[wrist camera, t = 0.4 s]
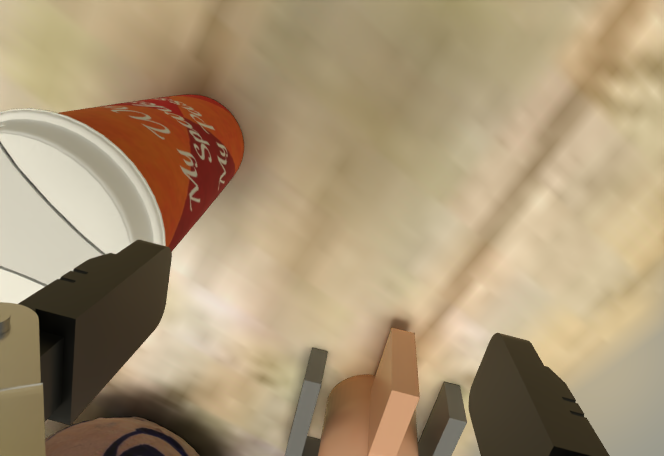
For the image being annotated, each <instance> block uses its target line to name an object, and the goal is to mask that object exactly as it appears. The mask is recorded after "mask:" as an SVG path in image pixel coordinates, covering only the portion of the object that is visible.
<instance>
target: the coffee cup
mask: <svg viewBox="0 0 664 456" xmlns="http://www.w3.org/2000/svg"><path fill="white" fill-rule="evenodd" d="M243 153H244V141H243V136H242V132H241V129H240V127H239V125H238V123H237V121H236V119H235V118H234V116H233V115H232V114H231V113H230V112H229V111H228V110H227V109H226V108H225V107H224V106H223V105H221V104H220V103H218V102H217V101H215V100H213V99H211V98H208V97H205V96H200V95H177V96H169V97H161V98H154V99H147V100H140V101H133V102H127V103H120V104H113V105H107V106H100V107H94V108H87V109H80V110H74V111H67V112H61V113H56V112H52V111H48V110H40V109H32V108H26V109H11V110H7V111H3V112H0V302H5V303H14V304H18V303H20V302H21V301H23V300H25V299H26V298H28V297H29V296H31V295H33V294H34V293H36V292H37V291H39V290H40V289H42V288H44V287H45V286H47V285H48V284H50V283H52V282H53V281H55V280H56V279H60V278H61V276H63V275H64V274H66V273H68V272H69V271H73V270H74V268H75V267H77V266H79V265H80V264H82V263H83V262H85V261H87V260H88V259H91V258H94V257H98V256H101V255H105V254H108V253H113V254H117V253H118V252H120V251H121V250H123V249H124V248H126V247H127V246H129V245H130V244H132V243H133V242H135V241H136V240H143V241H147V242H151V243H155V244H159V245H163V246H167V247H169V248H170V249H171V252H172V251H173V249H174V248H175V247H176V246H177V245H178V243H179V242H180V241H181V240H182V239H183V237H184V236H185V235H186V234H187V233H188V231H189V230H190V229H191V228H192V227H193V225H194V224H195V223H196V222H197V221H198V220H199V218H200V217H201V216H202V215H203V213H204V212H205V211H206V210H207V209H208V207H209V206H210V205H211V204H212V203H213V201H214V200H215V199H216V198H217V196H218V195H219V194H220V193H221V192H222V190H223V189H224V188H225V187H226V185H227V184H228V183H229V181H230V180H231V179H232V177H233V176H234V175H235V173H236V172H237V170H238V168H239V166H240V164H241V161H242V158H243Z"/></svg>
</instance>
